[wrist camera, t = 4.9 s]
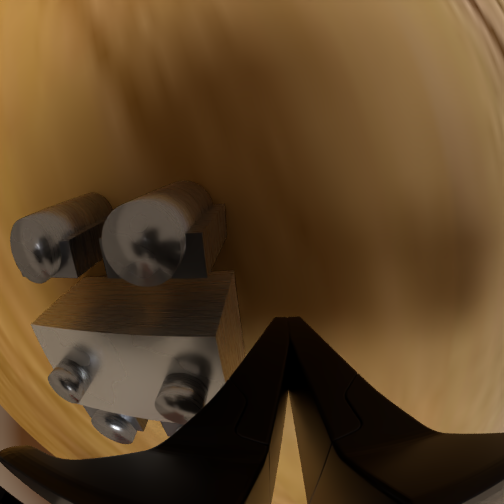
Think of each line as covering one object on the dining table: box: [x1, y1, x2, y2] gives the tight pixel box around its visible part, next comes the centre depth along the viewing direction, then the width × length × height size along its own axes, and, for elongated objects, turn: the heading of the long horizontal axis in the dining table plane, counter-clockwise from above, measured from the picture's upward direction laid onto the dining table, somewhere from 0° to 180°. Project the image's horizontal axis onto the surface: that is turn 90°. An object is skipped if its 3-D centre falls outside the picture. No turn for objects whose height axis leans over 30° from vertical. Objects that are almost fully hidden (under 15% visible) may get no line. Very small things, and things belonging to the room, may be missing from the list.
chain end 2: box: [99, 181, 227, 436], centre depth 8 cm, size 2×9×3 cm, turn 3°
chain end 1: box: [10, 193, 148, 444], centre depth 8 cm, size 2×9×3 cm, turn 3°
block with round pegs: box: [31, 270, 245, 425], centre depth 8 cm, size 6×4×4 cm, turn 95°
